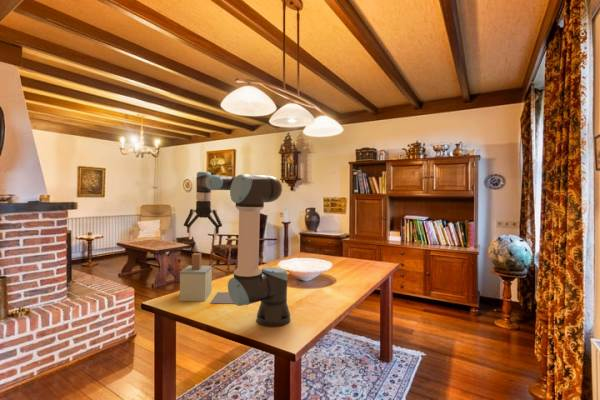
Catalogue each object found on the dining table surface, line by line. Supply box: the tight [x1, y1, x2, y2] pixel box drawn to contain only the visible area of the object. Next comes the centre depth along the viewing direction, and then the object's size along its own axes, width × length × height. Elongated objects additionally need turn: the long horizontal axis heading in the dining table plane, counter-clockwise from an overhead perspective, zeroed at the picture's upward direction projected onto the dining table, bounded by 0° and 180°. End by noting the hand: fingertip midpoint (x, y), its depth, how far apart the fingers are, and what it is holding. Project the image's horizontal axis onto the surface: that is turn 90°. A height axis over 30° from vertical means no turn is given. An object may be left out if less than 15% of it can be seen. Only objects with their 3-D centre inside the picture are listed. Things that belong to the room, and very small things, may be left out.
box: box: [179, 267, 213, 302], centre depth 160 cm, size 13×13×14 cm
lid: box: [179, 252, 213, 275], centre depth 159 cm, size 13×13×10 cm
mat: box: [209, 291, 235, 305], centre depth 159 cm, size 16×16×1 cm
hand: (202, 239), depth 161 cm, fingers open, 13 cm apart
